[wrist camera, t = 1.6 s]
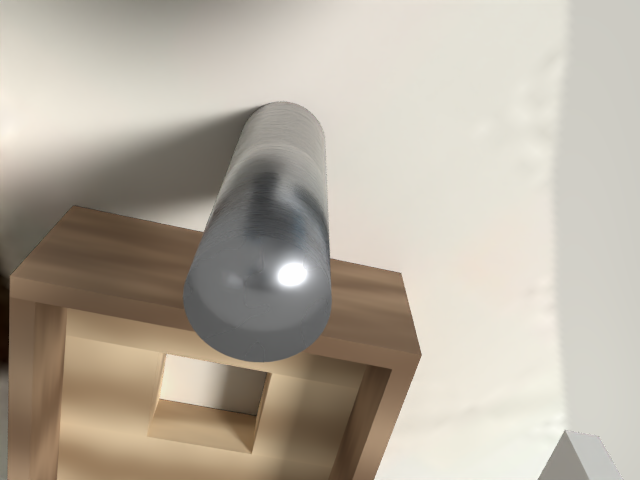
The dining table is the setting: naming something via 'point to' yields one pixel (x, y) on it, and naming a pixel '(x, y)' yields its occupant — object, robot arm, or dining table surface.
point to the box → (180, 339)
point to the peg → (266, 243)
